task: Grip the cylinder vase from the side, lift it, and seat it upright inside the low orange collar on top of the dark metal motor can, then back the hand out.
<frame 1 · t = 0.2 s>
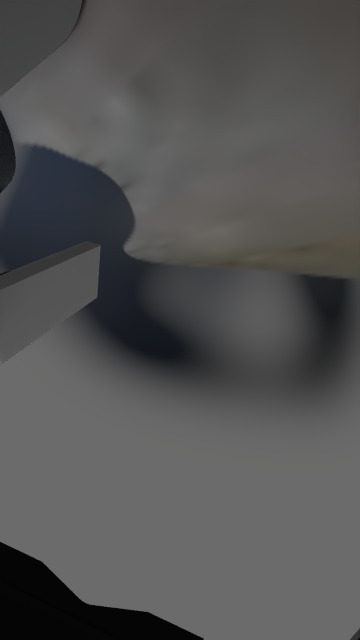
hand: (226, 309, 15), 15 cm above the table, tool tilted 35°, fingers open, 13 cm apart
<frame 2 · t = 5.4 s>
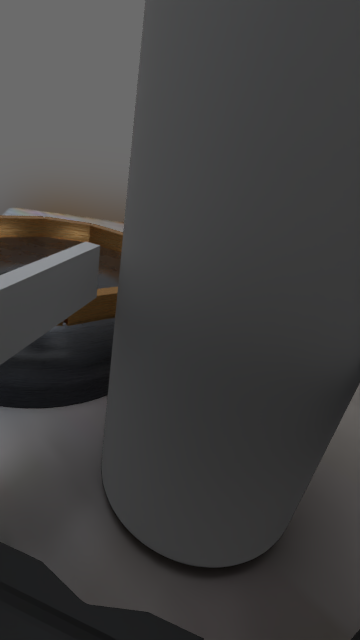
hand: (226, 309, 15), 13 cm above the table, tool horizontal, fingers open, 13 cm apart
cylinder vase: (195, 472, 23), on the table, touching gripper
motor: (51, 333, 34), on the table
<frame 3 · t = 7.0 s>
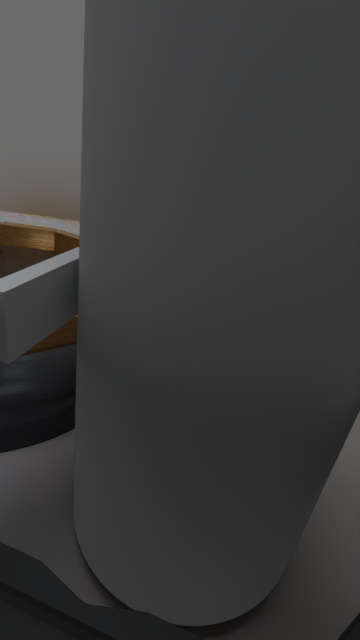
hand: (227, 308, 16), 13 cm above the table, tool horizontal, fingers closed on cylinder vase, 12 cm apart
cylinder vase: (181, 505, 20), on the table, touching gripper
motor: (6, 356, 30), on the table
when the fingers open (21 cm above the table, at t = 13.7 s): cylinder vase moves 1 cm, resting on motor.
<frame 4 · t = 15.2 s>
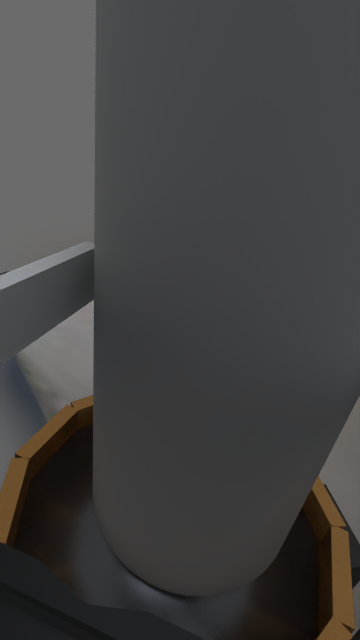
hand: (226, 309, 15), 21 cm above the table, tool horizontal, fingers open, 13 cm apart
cylinder vase: (189, 491, 23), point 7 cm above the table, touching gripper, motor
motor: (157, 569, 25), on the table
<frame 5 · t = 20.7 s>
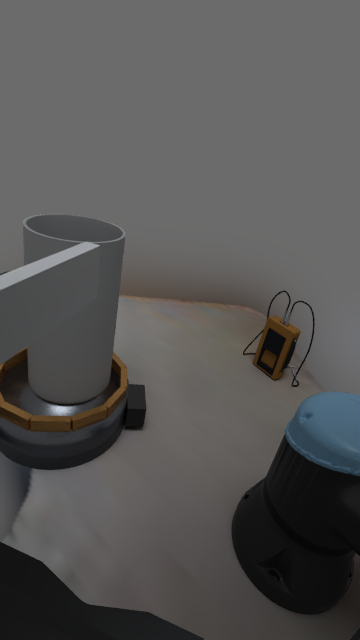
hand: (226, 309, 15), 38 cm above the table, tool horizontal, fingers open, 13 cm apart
multimeter: (275, 368, 83), on the table
cylinder vase: (70, 380, 55), point 7 cm above the table, touching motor
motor: (62, 415, 57), on the table
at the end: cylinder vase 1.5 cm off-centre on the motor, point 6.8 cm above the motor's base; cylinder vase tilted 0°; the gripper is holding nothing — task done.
